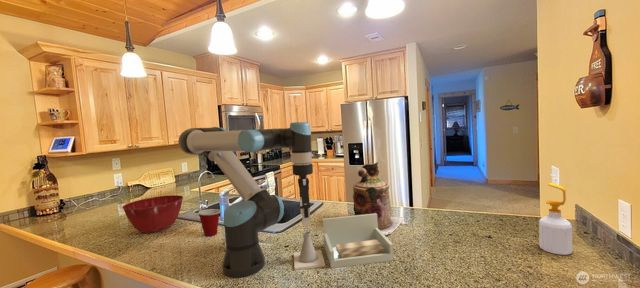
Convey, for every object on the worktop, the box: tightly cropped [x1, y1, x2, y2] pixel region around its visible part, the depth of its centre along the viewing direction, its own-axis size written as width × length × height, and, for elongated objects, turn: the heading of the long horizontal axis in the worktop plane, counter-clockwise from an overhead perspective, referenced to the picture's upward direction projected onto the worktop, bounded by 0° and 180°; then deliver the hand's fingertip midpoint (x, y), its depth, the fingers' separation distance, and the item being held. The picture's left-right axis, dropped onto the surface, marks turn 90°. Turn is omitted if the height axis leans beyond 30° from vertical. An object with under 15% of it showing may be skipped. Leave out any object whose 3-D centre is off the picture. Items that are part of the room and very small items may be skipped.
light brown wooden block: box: [335, 239, 384, 259], centre depth 101 cm, size 17×4×6 cm, turn 100°
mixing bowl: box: [121, 194, 184, 234], centre depth 149 cm, size 28×28×16 cm
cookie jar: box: [352, 161, 405, 236], centre depth 133 cm, size 25×25×32 cm
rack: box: [322, 213, 395, 269], centre depth 105 cm, size 23×18×12 cm
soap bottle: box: [538, 182, 573, 256], centre depth 98 cm, size 9×9×25 cm
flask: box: [299, 230, 318, 262], centre depth 102 cm, size 7×7×10 cm
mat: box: [293, 249, 326, 271], centre depth 102 cm, size 11×12×1 cm
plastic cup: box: [197, 208, 222, 237], centre depth 135 cm, size 11×11×12 cm
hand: (305, 219), depth 101 cm, fingers open, 13 cm apart
